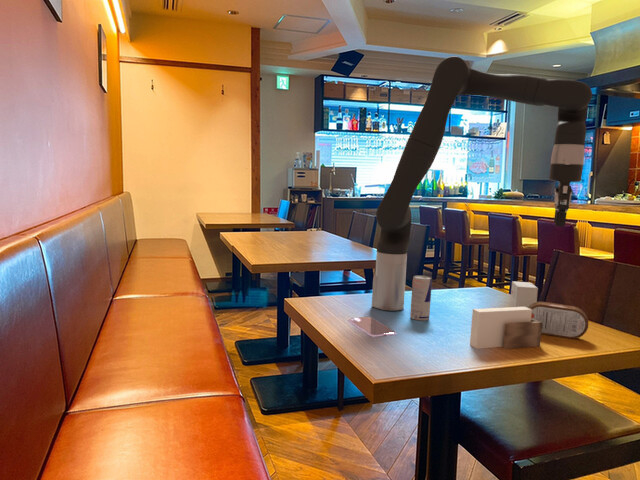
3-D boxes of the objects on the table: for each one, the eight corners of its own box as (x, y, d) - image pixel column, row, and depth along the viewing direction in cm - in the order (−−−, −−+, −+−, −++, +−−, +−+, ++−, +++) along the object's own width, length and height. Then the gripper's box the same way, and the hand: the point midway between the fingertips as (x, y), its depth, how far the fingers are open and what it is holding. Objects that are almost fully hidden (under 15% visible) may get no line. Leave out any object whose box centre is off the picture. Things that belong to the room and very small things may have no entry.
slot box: (505, 348, 112) (508, 324, 111) (489, 340, 118) (491, 317, 117) (540, 346, 115) (542, 322, 114) (522, 338, 121) (525, 315, 120)
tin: (586, 339, 122) (590, 307, 121) (587, 342, 120) (591, 310, 119) (523, 329, 129) (526, 299, 128) (523, 332, 126) (526, 301, 125)
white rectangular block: (476, 348, 112) (479, 312, 110) (469, 345, 114) (472, 309, 113) (528, 344, 116) (531, 309, 115) (521, 341, 118) (524, 306, 117)
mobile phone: (371, 334, 117) (346, 317, 130) (371, 338, 117) (346, 321, 131) (398, 332, 119) (370, 315, 133) (397, 335, 119) (370, 319, 133)
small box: (534, 324, 134) (538, 288, 133) (514, 322, 135) (517, 286, 134) (528, 316, 142) (531, 282, 140) (508, 314, 143) (511, 280, 141)
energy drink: (432, 318, 135) (435, 277, 134) (422, 322, 131) (425, 280, 130) (416, 314, 139) (419, 274, 137) (406, 317, 135) (409, 276, 133)
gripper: (549, 163, 130) (542, 221, 133) (551, 161, 117) (544, 225, 120) (580, 164, 127) (572, 224, 130) (586, 162, 114) (577, 228, 117)
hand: (559, 224), depth 125 cm, fingers open, 8 cm apart
